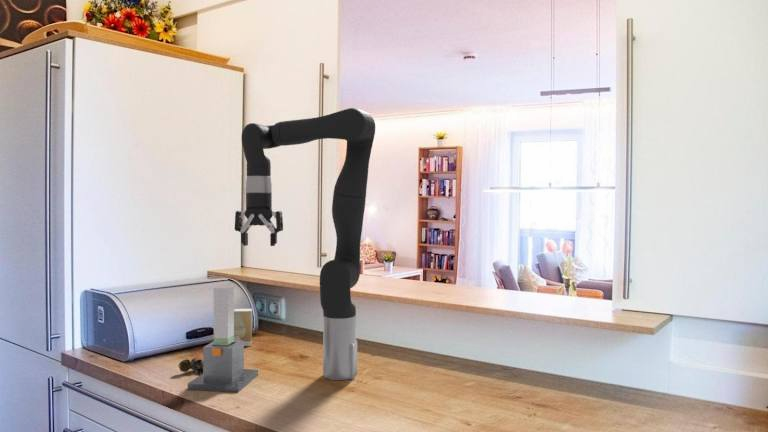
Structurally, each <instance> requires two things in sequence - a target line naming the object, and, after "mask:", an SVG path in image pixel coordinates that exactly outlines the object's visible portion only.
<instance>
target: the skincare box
mask: <svg viewBox="0 0 768 432" xmlns="http://www.w3.org/2000/svg"><path fill="white" fill-rule="evenodd" d="M252 325H253V308H234V340H239V341H244V347H251V346H252V337H253V336H252V330H253V329H252V328H253V326H252Z"/></svg>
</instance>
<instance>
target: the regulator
mask: <svg viewBox="0 0 768 432" xmlns="http://www.w3.org/2000/svg"><path fill="white" fill-rule="evenodd" d="M178 368H179V371H180V372H183V373H186V372H188V371H190V370H192V371H193V373H196V374H198V376H200V375H201V374H203V373H204V359H202V358H199V357H194V358H192V359H191V361H190V359H187V358H186V359H183V360H182V361H180V362H179V363H178Z"/></svg>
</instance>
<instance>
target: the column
mask: <svg viewBox="0 0 768 432" xmlns="http://www.w3.org/2000/svg"><path fill="white" fill-rule="evenodd" d="M234 289H235V286H234V285H219V286H216V287H213V341H214V346H225V347H229V346H231V345H232V344H234V309H235V290H234Z"/></svg>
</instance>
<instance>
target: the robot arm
mask: <svg viewBox="0 0 768 432" xmlns="http://www.w3.org/2000/svg"><path fill="white" fill-rule="evenodd" d="M375 135H376V123H375V119H374V117H373V116H372V114H370V113H369V112H368V111H367V112H366V111H365V110H362V109H359V108H355V107H349V108H346V109H342V110H338V111H336V112H333V113H329V114H325V115H322V116H317V117H311V118H302V119H300V118H299V119H292V120H284V121H278V122H276V123H275V124H273V125H264V124H263V125H262V124H259V123H254V122H252V123H248V124H246V125H245V126H244V127H243V130H242V132H241V145H242V149H243V154H244V156H245V157H244V158H245V161H246V180H245V211H242V210H236V211H235V216H234V231H236V232H239V233H240V243H241V244H242V246H244V247H245V246H248V244H249V232H248V231H249V230H250V228H252V227H253V226H265V227H266V228H267V229H268V231H269V232H270V235H269V237H270V238H269V239H270V240H269V241H270V242H269V243H270V245H269V246H270V247H275V245H276V244H277V243H278V233H279V232H281V231H284V221H283V220H284V219H283V212H282V210H278V211H273V209H272V201H273V200H272V197H273V196H272V195H273V194H272V192H273V191H272V185H273V183H272V177H271V176H272V175H271V171H272V170H271V169H272V167H271V166H272V165H271V163H272V162H271V160H270V158H269V157H267V156H266V155H265V152H264V150H267V149H268V150H269V149H274V148H279V147H282V146H283V147H286V146H294V145H295V146H297V145H301V144H307V143H311V142H313V141H316V140H326V139H331V140H332V139H333V140H345V141H346V151H345V159H344V162H343V165H342V168H341V170H340V172H339V175H338V177H337V178H336V181H335V184H334V188H333V193H332V203H331V204H332V206H331V216H332V221H333V225H334V229H335V235H336V246H335V254H334V257H333V259H332V260H329V261H327V262H326V263H324V264H323V266H322V267H321V269H320V274H319V298H320V299H319V301H320V305H321V308H322V314H323V316H322V322H323V323H322V326H323V328H322V332H323V333H322V339H323V340H322V341H323V342H322V343H323V347H322V349H323V350H322V353H323V354H322V358H323V359H322V362H323V363H322V364H323V365H322V366H323V367H322V372H323V373H322V375H323V378H325V379H327V380H332V381H343V380H344V381H345V380H355V377H356V376H357V373H358V340H357V336H356V334H357V329H356V328H357V327H356V326H357V323H356V321H357V320H356V319H357V318H356V316H357V310H356V309H357V307H356V305H355V304H354V303H353V302H352V298H351V297H352V295H351V289H352V288H353V287H355V286H356V284H358V282H359V279H360V274H361V239H362V233H363V225H364V224H363V223H364V218H365V217H364V215H365V209H366V198H367V188H368V178H369V166H370V165H369V164H370V158H371V154H372V148H373V144H374V143H373V142H374V139H375ZM244 218H246V219H247V220H246V221H245V222H244V224H243V219H244ZM272 218H274V219H275V222H276V227H275V224H274V223H273V222H272V220H271V219H272Z"/></svg>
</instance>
